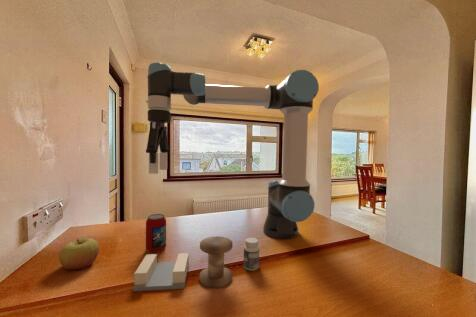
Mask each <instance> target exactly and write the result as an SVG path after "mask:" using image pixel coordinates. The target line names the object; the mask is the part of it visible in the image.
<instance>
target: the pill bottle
mask: <svg viewBox="0 0 476 317" xmlns="http://www.w3.org/2000/svg"><path fill="white" fill-rule="evenodd" d="M244 243H245V244H244V246H243V268H244V269H245V270H248V271H257V270H258V269H259V267H260V246H259V239H258V238H255V237H247V238H245V241H244Z"/></svg>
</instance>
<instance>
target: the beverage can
mask: <svg viewBox="0 0 476 317" xmlns="http://www.w3.org/2000/svg"><path fill="white" fill-rule="evenodd" d="M166 247H167V219H166V217H165V215H164V214H161V213H154V214H150V215H148V216H147V219H146V221H145V249H146V251H147V252H149V253H151V254H153V253H154V254H156V253H159V252H162V251H163V250H164V249H166Z"/></svg>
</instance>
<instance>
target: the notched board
mask: <svg viewBox="0 0 476 317" xmlns="http://www.w3.org/2000/svg"><path fill="white" fill-rule="evenodd" d="M189 255H190V254H189V252H188V253H187V252H183V253H180V252H179V253H178V255H177V257H176V260H175V261H159V262H158V260H157V258H158V254H157V253H154V254H153V253H151V254H150V253H149V254H146V255H145V256H144V257H143V259H142V261H141V262H140V264H139V265H138V267H137V268H136V271H135V272H134V274H133V275H134V277H133V278H134V280H133V282H134V285H133V287H132V292H144V291H146V292H147V291H162V290H163V291H164V290H165V291H166V290H183V289H185V284H186V280H187V274H188V271H187V269H188V270H189V266H188V265H190V261H189V260H190V258H189V257H190V256H189Z"/></svg>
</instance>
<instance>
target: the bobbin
mask: <svg viewBox="0 0 476 317" xmlns="http://www.w3.org/2000/svg"><path fill="white" fill-rule="evenodd" d="M232 248H233V240H231V239H230V238H228V237H225V236H209V237H206V238H203V239H202V240H201V241H200V243H199V249H200V251H202V252H203V253H206V254H208V255H207V267H206V268H204V269H202V270H201V271H200V273H199V282H200V284H201V285H202V286H204V287H206V288H209V289H220V288H223V287H226V286H228V285H229V284H230V283H231V281H232V277H233V275H232V271H231V269H230V268H227V267H225V266H224V265H225V254H226V253H228V252H230V251H231V250H232Z"/></svg>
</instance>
